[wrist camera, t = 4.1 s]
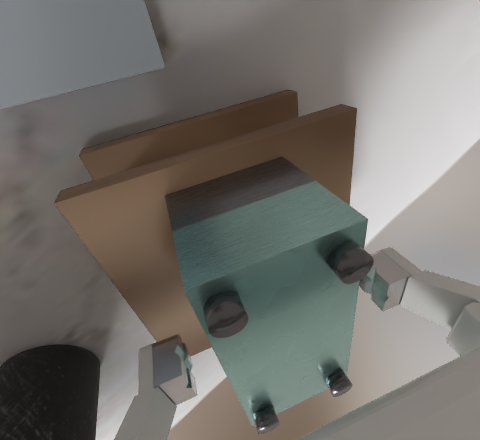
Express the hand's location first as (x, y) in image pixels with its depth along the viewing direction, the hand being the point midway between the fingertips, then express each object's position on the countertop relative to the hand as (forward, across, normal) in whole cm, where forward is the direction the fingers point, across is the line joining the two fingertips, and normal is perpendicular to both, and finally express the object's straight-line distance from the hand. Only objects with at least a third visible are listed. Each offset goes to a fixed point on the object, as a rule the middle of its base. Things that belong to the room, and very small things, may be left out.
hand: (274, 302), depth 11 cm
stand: (+9, 0, 0) cm, 9 cm away
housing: (+3, 0, 0) cm, 3 cm away
